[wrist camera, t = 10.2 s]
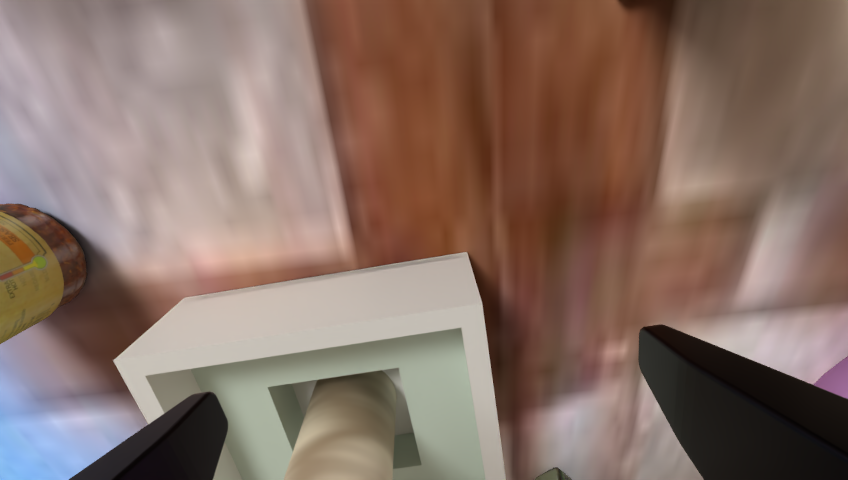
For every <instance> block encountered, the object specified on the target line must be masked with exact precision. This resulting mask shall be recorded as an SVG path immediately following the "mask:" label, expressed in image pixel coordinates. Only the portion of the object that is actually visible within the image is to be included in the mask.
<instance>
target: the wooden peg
mask: <svg viewBox="0 0 848 480" xmlns="http://www.w3.org/2000/svg"><path fill="white" fill-rule="evenodd" d="M396 399H397V395H396V389H395V386H394V384H393V382H392V380H391V379H390V378H389V376H388V375H387V374H386V373H384V372H383V371H382V370H379V371H373V372H366V373H359V374H352V375H346V376H339V377H332V378H326V379H319V380H317V382H316V385H315V387H314V390H313V393H312V396H311V399H310V402H309V405H308V408H307V411H306V414H305V417H304V420H303V423H302V426H301V429H300V432H299V435H298V438H297V441H296V444H295V447H294V450H293V453H292V456H291V459H290V462H289V465H288V468H287V471H286V474H285V477H284V480H392V478H393V458H394V438H395V419H396Z"/></svg>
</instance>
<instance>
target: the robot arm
mask: <svg viewBox="0 0 848 480" xmlns="http://www.w3.org/2000/svg"><path fill="white" fill-rule="evenodd" d="M639 366H640V369H641V372H642V374H643V376H644V378H645V379H646V381H647V383H648V385H649V387H650V389H651V391H652V393H653V394H654V396H655V398H656V400H657V402H658V404H659V406H660V407H661V409H662V411H663V413H664V415H665V417H666V419H667V420H668V422H669V424H670V426H671V428H672V430H673V432H674V433H675V435H676V437H677V439H678V440H679V442H680V444H681V445H682V447H683V448H684V450H685V452H686V453H687V455H688V456H689V458H690V459H691V461H692V462H693V464H694V465H695V467H696V468H697V470H698V471H699V473H700V474H701V476H702V477H703V479H704V480H848V399H847V398H844V397H842V396H839V395H837V394H834V393H832V392H829V391H827V390H824V389H822V388H819V387H817V386H814V385H812V384H809V383H807V382H804V381H802V380H800V379H797V378H795V377H792V376H790V375H787V374H785V373H782V372H780V371H777V370H775V369H772V368H770V367H767V366H765V365H762V364H760V363H757V362H755V361H752V360H750V359H747V358H745V357H742V356H740V355H737V354H735V353H733V352H730V351H728V350H725V349H723V348H720V347H718V346H715V345H713V344H710V343H708V342H705V341H703V340H700V339H698V338H695V337H693V336H690V335H688V334H685V333H683V332H680V331H678V330H675V329H673V328H671V327H668V326H665V325H653V326H647V327H643V328H642V329H641V330H640V333H639ZM227 432H228V420H227V417H226V415H225V413H224V411H223V409H222V406H221V404H220V402H219V400H218V398H217V396H216V394H214V393H213V392H202V393H196V394H192V395H190V396H189V397H187V398H186V399H184V400H183V401H182V402H180V403H179V404H177V405H176V406H174V407H173V408H171V409H170V410H169V411H167V412H166V413H164V414H163V415H161V416H160V417H158V418H157V419H156V420H154V421H153V422H151V423H150V424H148V425H147V426H145V427H144V428H143V429H141V430H140V431H138V432H137V433H135V434H134V435H133V436H131V437H130V438H128V439H127V440H125V441H124V442H122V443H121V444H120V445H118V446H117V447H115V448H114V449H112V450H111V451H109V452H108V453H107V454H105V455H104V456H102V457H101V458H99V459H98V460H96V461H95V462H94V463H92V464H91V465H89V466H88V467H86V468H85V469H84V470H82V471H81V472H79V473H78V474H76V475H75V476H73V477H72V478H71V479H69V480H213V478H214V475H215V471H216V468H217V465H218V462H219V458H220V455H221V452H222V449H223V445H224V442H225V439H226V435H227Z"/></svg>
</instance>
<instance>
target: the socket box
mask: <svg viewBox="0 0 848 480" xmlns="http://www.w3.org/2000/svg"><path fill="white" fill-rule="evenodd" d="M113 361H114V363H115V365H116V367H117V369H118V370H119V372H120V374H121V376H122V378H123V379H124V381H125V383H126V385H127V387H128V389H129V390H130V392H131V394H132V396H133V398H134V399H135V401H136V403H137V405H138V407H139V409H140V410H141V412H142V414H143V416H144V418H145V419H146V421H147V423H148V424H150V423H151V422H153V421H154V420H156V419H157V418H158V417H160V416H161V415H163V414H164V413H166V412H167V411H169V410H170V409H171V408H173V407H174V406H176V405H177V404H179V403H180V402H182V401H183V400H184V399H186V398H187V397H189V396H190V395H192V394H196V393H202V392H213V393H214V394H216V396H217V398H218V400H219V402H220V404H221V406H222V409H223V411H224V413H225V415H226V417H227V420H228V432H227V435H226V439H225V442H224V445H223V449H222V452H221V455H220V458H219V462H218V465H217V468H216V471H215V475H214V478H213V480H284V477H285V474H286V471H287V468H288V465H289V462H290V459H291V456H292V453H293V450H294V447H295V444H296V441H297V438H298V435H299V432H300V429H301V426H302V423H303V420H304V417H305V414H306V411H307V408H308V405H309V402H310V399H311V396H312V393H313V390H314V387H315V385H316V382H317V380H319V379H326V378H332V377H339V376H346V375H352V374H359V373H366V372H373V371H379V370H382V371H383V372H384V373H386V374H387V375H388V376H389V378H390V379H391V380H392V382H393V384H394V386H395V389H396V395H397V399H396V419H395V438H394V458H393V478H392V480H506V476H505V468H504V461H503V453H502V446H501V439H500V431H499V424H498V416H497V409H496V402H495V394H494V387H493V379H492V372H491V365H490V357H489V350H488V342H487V335H486V328H485V320H484V313H483V305H482V301H481V298H480V294H479V291H478V287H477V284H476V281H475V277H474V274H473V271H472V267H471V264H470V261H469V257H468V254H467V252H464V253H458V254H451V255H445V256H439V257H433V258H427V259H421V260H414V261H408V262H402V263H396V264H390V265H383V266H377V267H371V268H365V269H359V270H353V271H346V272H340V273H334V274H328V275H322V276H316V277H309V278H303V279H297V280H291V281H285V282H278V283H272V284H266V285H260V286H254V287H248V288H241V289H235V290H229V291H223V292H217V293H211V294H204V295H198V296H192V297H186V298H184V299H183V300H181V301H180V302H179V303H178V304H177V305H176V306H175V307H173V308H172V309H171V310H170V311H169V312H168V313H167V314H165V315H164V316H163V317H162V318H161V319H160V320H159V321H158V322H156V323H155V324H154V325H153V326H152V327H151V328H150V329H148V330H147V331H146V332H145V333H144V334H143V335H142V336H140V337H139V338H138V339H137V340H136V341H135V342H134V343H133V344H131V345H130V346H129V347H128V348H127V349H126V350H125V351H123V352H122V353H121V354H120V355H119V356H118V357H117V358H115V359H114V360H113Z"/></svg>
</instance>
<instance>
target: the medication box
mask: <svg viewBox="0 0 848 480" xmlns="http://www.w3.org/2000/svg"><path fill="white" fill-rule="evenodd" d="M535 480H572V479H571V478H570V477H568V476H567V475H566V474H565V473H564V472H562V471H561V470H560V469H558V468H553V469H551V470H549V471H547V472H545V473H543V474H542V475H540V476H538V477H537V478H536V479H535Z"/></svg>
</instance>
